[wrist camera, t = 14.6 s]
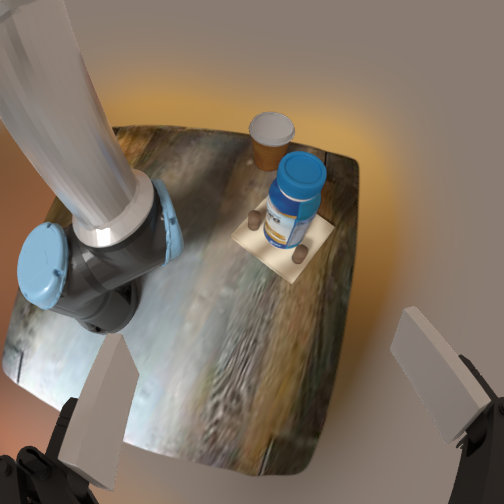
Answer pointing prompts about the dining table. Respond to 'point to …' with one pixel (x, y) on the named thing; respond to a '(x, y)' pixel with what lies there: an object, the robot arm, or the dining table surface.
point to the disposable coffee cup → (270, 139)
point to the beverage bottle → (293, 199)
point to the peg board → (280, 259)
